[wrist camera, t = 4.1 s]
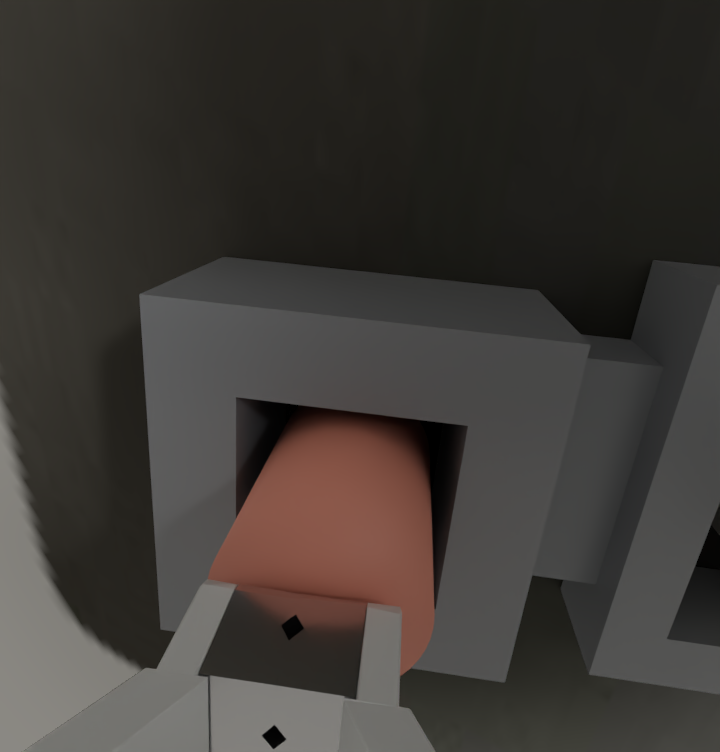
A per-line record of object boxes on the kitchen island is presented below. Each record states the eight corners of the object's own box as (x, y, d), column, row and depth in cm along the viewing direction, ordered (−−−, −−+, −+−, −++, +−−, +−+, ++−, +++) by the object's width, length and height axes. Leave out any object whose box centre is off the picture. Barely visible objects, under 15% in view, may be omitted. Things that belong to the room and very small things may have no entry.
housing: (1108, 305, 12) (1464, 377, 8) (907, 638, 16) (1081, 807, 12) (223, 216, 14) (135, 238, 9) (225, 541, 17) (162, 661, 13)
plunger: (439, 395, 12) (450, 531, 8) (419, 525, 14) (419, 709, 9) (284, 376, 13) (204, 497, 8) (279, 506, 14) (208, 676, 9)
